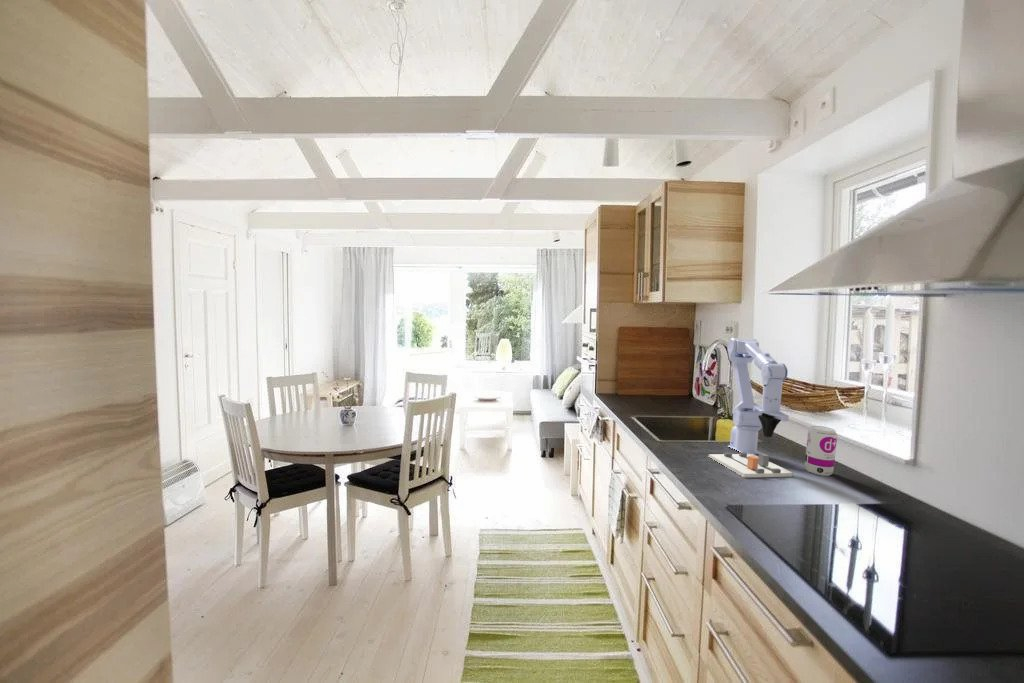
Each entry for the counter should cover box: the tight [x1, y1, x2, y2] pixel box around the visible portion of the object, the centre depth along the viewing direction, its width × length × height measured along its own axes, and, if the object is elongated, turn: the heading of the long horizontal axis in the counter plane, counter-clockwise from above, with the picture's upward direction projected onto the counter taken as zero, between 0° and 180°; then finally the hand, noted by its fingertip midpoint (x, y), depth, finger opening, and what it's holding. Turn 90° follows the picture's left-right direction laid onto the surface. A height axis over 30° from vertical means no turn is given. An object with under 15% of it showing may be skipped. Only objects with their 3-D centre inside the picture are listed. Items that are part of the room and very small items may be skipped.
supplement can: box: [804, 425, 838, 477], centre depth 158 cm, size 8×8×15 cm
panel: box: [708, 452, 794, 478], centre depth 160 cm, size 19×18×2 cm
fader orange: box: [747, 456, 759, 469], centre depth 154 cm, size 2×2×4 cm
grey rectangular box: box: [758, 452, 770, 466], centre depth 157 cm, size 2×2×4 cm
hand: (767, 436), depth 163 cm, fingers closed
